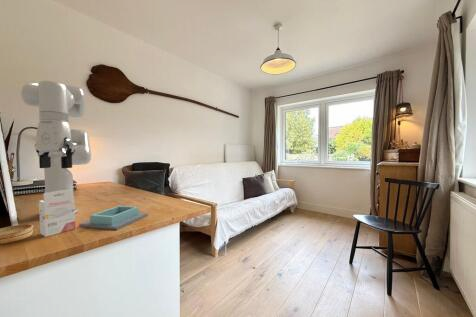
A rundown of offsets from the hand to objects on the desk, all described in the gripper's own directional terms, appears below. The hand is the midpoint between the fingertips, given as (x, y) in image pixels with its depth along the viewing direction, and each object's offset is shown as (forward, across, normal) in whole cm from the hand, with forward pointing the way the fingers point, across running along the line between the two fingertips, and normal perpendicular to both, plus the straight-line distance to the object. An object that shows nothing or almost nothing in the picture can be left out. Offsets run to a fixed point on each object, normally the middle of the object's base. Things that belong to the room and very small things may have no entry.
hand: (56, 168), depth 71 cm
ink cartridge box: (+23, 0, 0) cm, 23 cm away
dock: (+22, +11, +14) cm, 29 cm away
